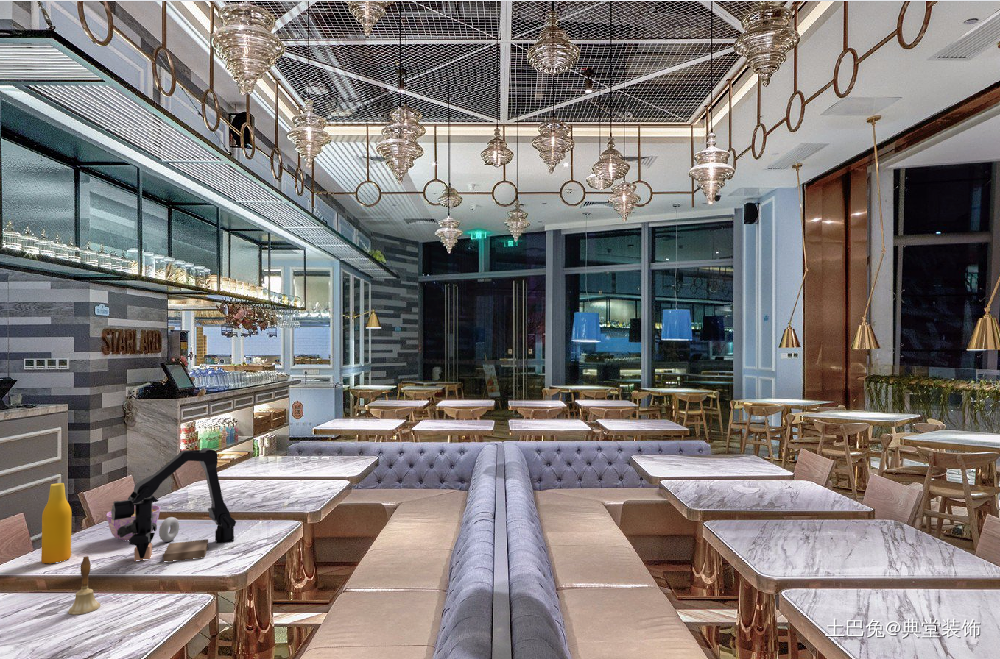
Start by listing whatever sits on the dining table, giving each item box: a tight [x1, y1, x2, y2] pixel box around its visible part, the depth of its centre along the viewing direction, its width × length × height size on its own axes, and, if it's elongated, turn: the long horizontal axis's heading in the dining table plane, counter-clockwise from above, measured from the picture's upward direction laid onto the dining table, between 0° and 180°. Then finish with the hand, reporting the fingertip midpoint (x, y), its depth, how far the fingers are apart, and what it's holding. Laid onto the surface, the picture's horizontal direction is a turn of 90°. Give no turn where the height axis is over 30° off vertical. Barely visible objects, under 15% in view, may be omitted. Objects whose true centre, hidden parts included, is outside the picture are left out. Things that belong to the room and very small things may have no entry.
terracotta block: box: [133, 542, 153, 561], centre depth 230 cm, size 5×5×5 cm
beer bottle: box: [40, 482, 73, 564], centre depth 229 cm, size 9×9×29 cm
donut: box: [158, 516, 180, 543], centre depth 251 cm, size 10×4×10 cm, turn 171°
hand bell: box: [67, 555, 101, 616], centre depth 185 cm, size 8×8×16 cm
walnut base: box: [162, 538, 209, 563], centre depth 234 cm, size 14×14×3 cm
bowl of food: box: [106, 504, 161, 542], centre depth 256 cm, size 20×20×12 cm
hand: (143, 555), depth 230 cm, fingers open, 5 cm apart
